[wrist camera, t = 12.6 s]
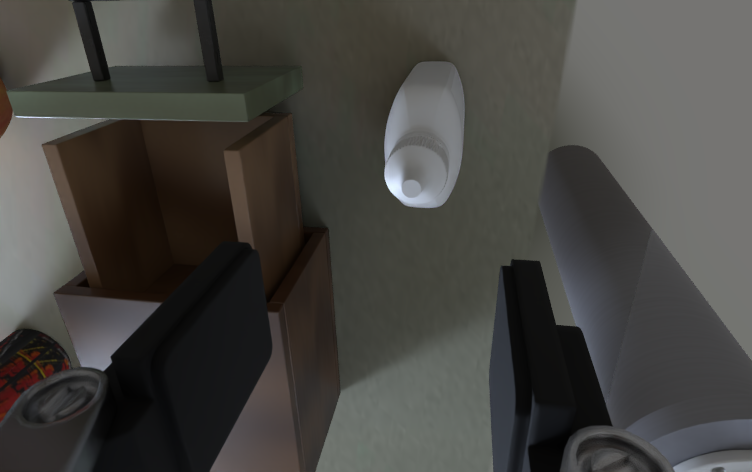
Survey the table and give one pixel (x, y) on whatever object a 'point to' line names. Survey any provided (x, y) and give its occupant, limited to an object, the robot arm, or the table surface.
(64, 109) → the drawer
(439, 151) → the eye dropper bottle
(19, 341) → the deodorant
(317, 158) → the table surface
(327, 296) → the cabinet
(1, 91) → the apple
